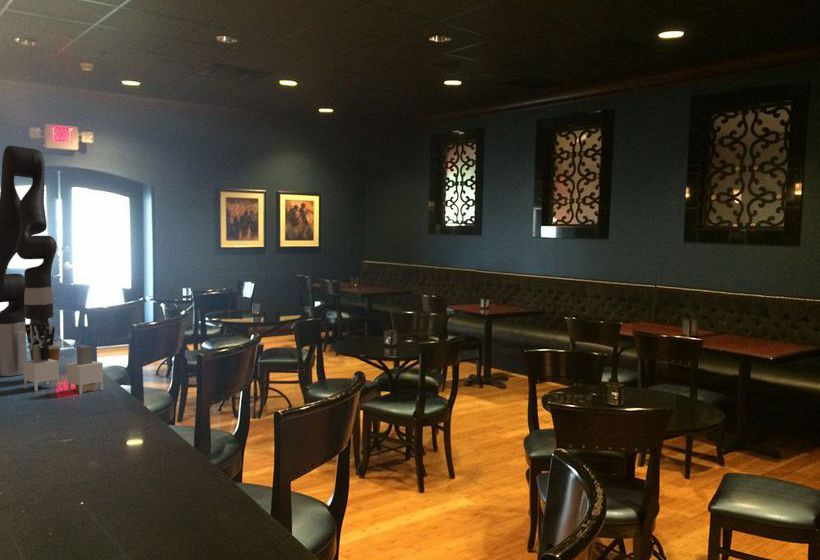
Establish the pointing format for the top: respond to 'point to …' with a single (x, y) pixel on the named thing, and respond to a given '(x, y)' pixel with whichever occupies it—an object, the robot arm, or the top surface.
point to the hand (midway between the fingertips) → (40, 358)
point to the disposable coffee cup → (50, 350)
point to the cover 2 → (84, 369)
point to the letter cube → (86, 387)
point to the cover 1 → (40, 369)
